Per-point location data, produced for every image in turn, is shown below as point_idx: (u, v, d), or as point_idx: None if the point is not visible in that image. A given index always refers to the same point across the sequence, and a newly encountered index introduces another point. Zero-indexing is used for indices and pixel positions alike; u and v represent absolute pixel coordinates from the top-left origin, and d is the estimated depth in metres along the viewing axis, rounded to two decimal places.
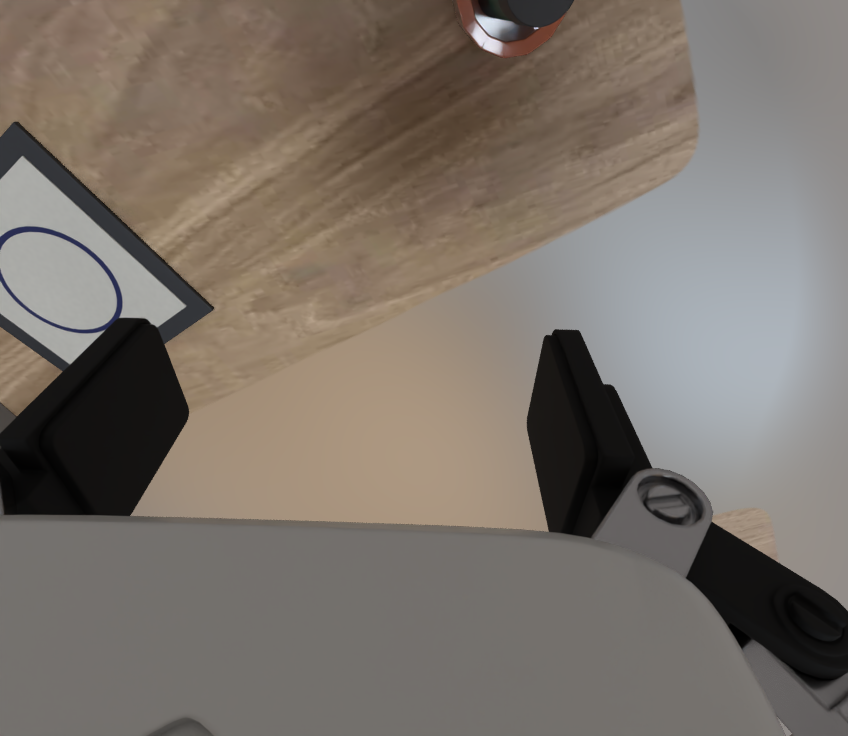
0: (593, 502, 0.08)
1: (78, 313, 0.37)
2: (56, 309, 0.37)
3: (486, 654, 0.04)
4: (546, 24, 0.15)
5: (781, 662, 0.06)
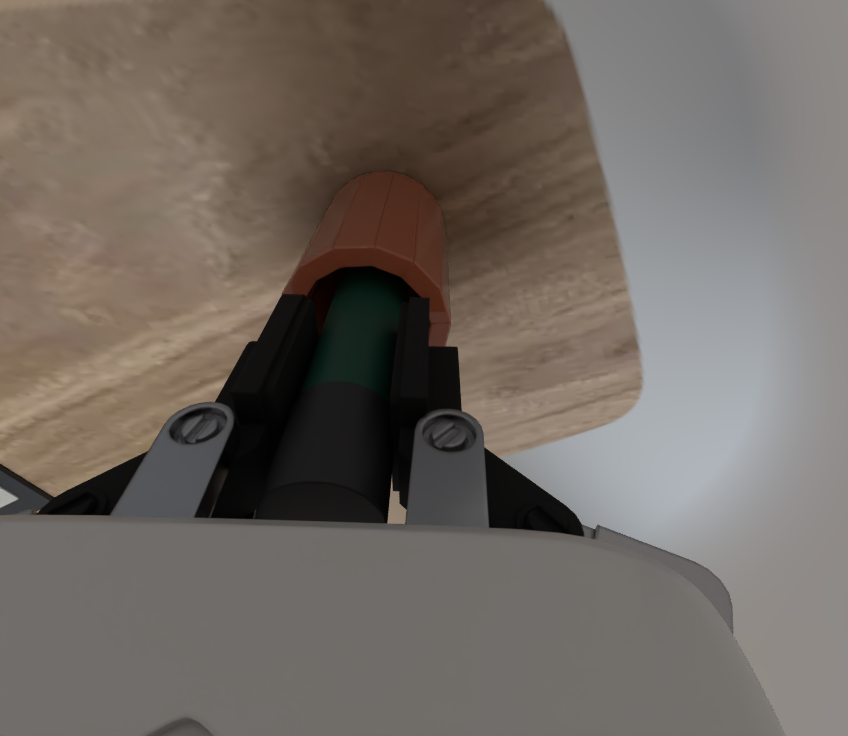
0: None
1: None
2: None
3: (486, 654, 0.04)
4: None
5: None
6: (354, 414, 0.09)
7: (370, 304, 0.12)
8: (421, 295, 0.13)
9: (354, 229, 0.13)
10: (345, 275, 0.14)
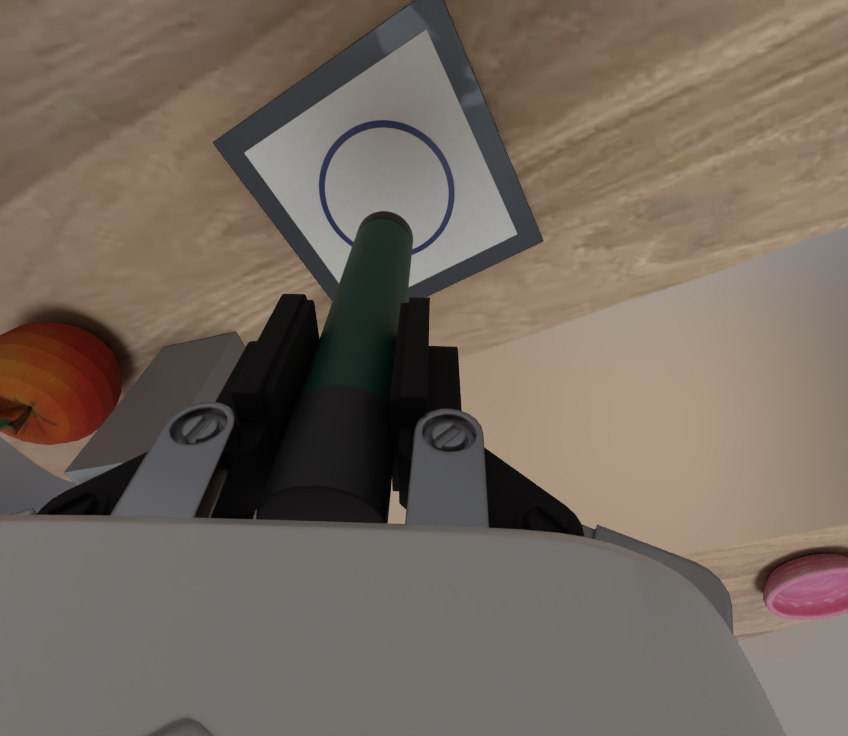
0: None
1: None
2: None
3: (486, 653, 0.04)
4: None
5: None
6: (354, 418, 0.09)
7: (370, 307, 0.12)
8: None
9: None
10: (345, 277, 0.14)
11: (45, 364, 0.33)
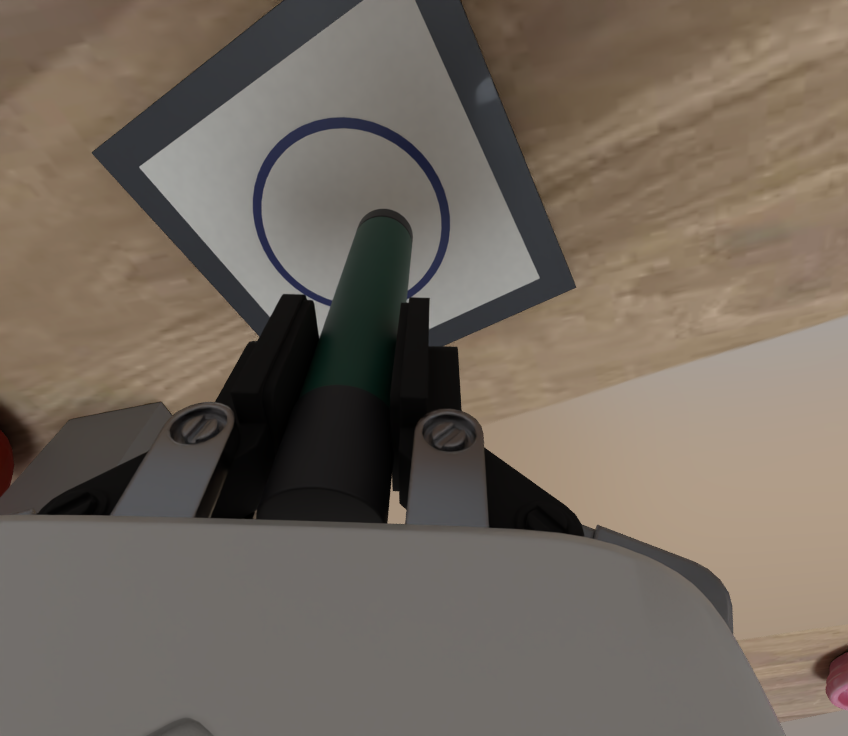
0: None
1: None
2: (325, 269, 0.23)
3: (486, 654, 0.04)
4: None
5: None
6: (353, 419, 0.09)
7: (370, 306, 0.12)
8: None
9: None
10: (345, 276, 0.14)
11: None
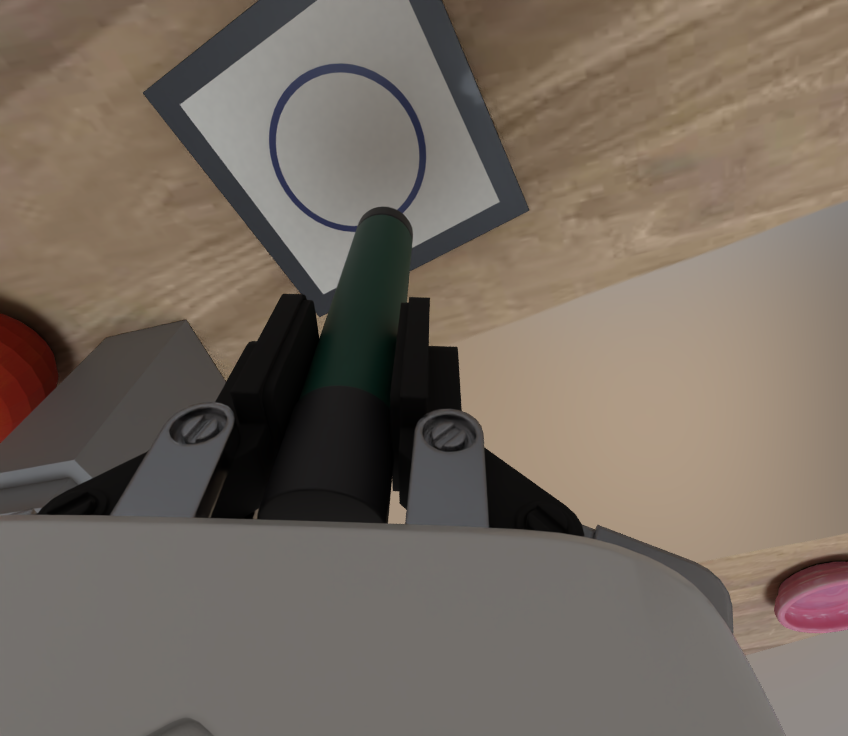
0: None
1: (353, 201, 0.29)
2: (326, 193, 0.28)
3: (486, 654, 0.04)
4: None
5: None
6: (354, 419, 0.09)
7: (370, 306, 0.12)
8: None
9: None
10: (345, 275, 0.14)
11: None
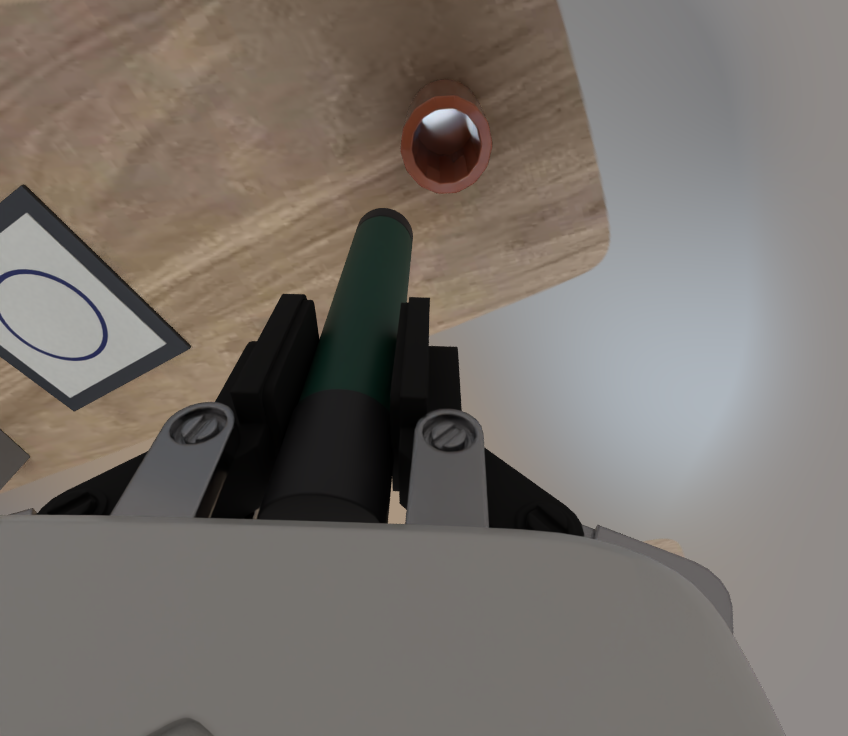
0: None
1: (66, 343, 0.41)
2: (45, 339, 0.41)
3: (486, 654, 0.04)
4: None
5: None
6: (353, 423, 0.09)
7: (370, 308, 0.12)
8: (477, 126, 0.24)
9: (441, 92, 0.25)
10: (344, 277, 0.14)
11: None
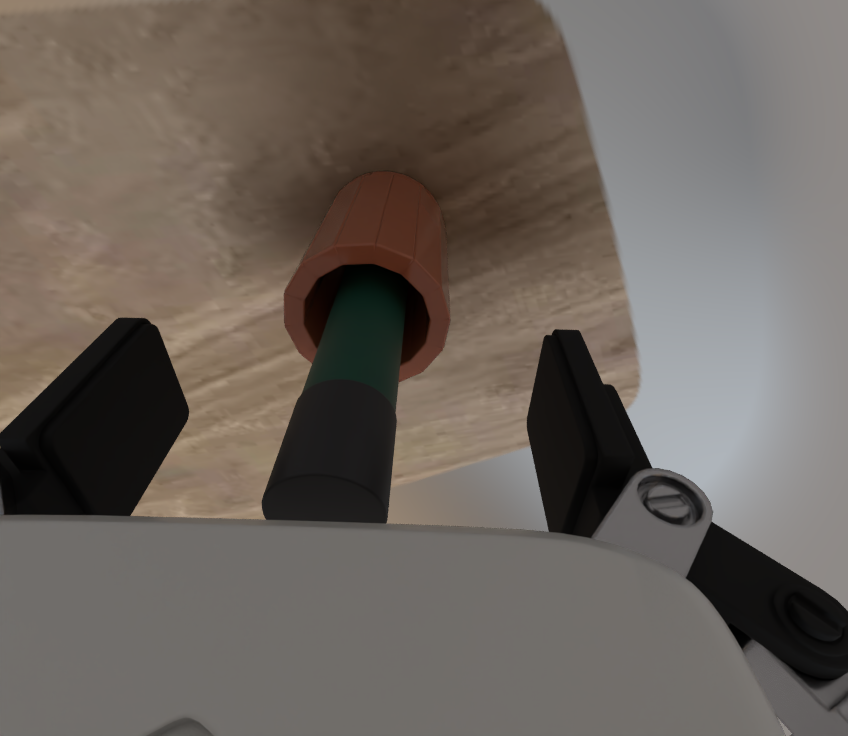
0: (593, 502, 0.08)
1: None
2: None
3: (486, 654, 0.04)
4: None
5: (781, 662, 0.06)
6: (356, 411, 0.09)
7: (371, 305, 0.13)
8: (421, 292, 0.13)
9: (355, 227, 0.13)
10: (346, 277, 0.14)
11: None
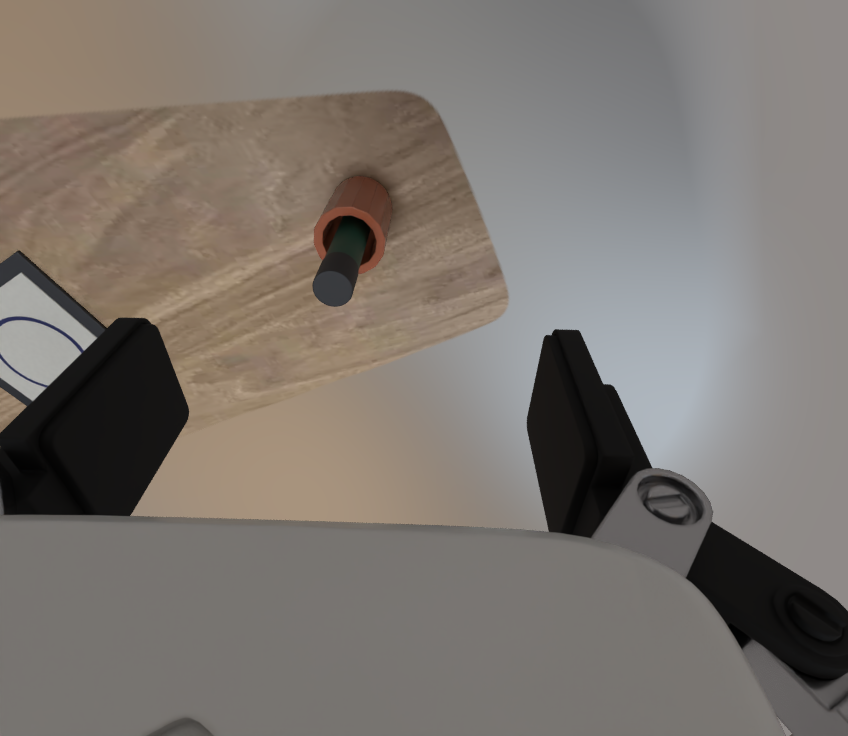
0: (593, 502, 0.08)
1: (55, 376, 0.48)
2: (37, 372, 0.48)
3: (486, 654, 0.04)
4: (338, 305, 0.28)
5: (781, 662, 0.06)
6: (343, 259, 0.28)
7: (350, 232, 0.31)
8: (371, 228, 0.31)
9: (344, 201, 0.31)
10: (340, 223, 0.33)
11: None
